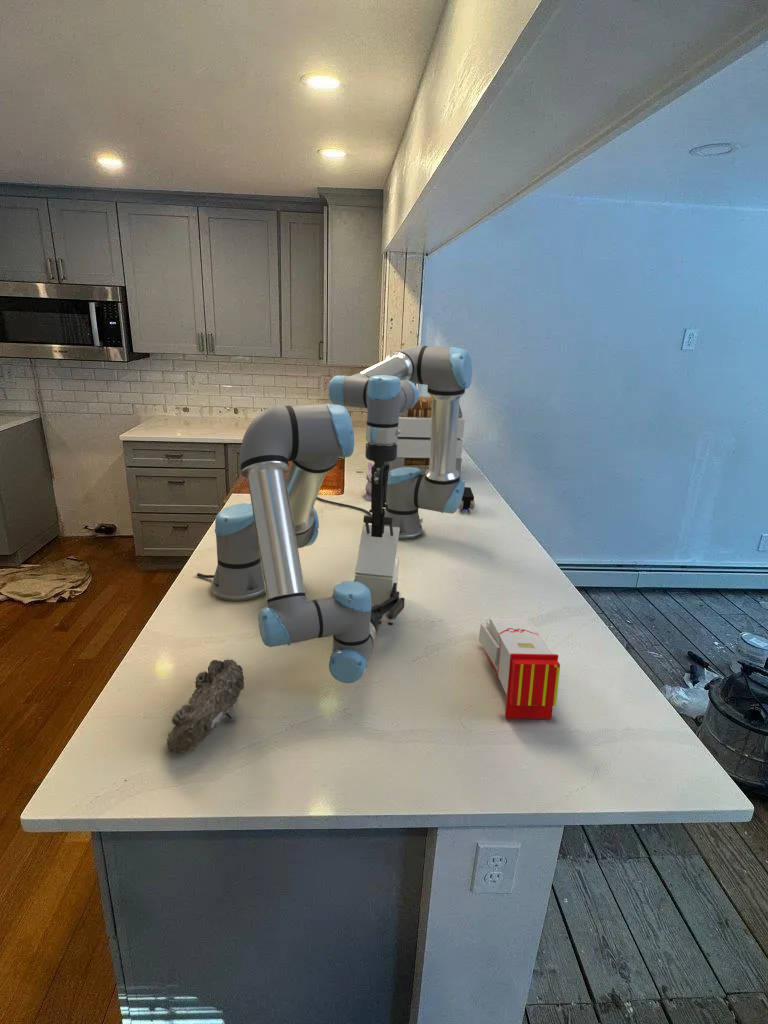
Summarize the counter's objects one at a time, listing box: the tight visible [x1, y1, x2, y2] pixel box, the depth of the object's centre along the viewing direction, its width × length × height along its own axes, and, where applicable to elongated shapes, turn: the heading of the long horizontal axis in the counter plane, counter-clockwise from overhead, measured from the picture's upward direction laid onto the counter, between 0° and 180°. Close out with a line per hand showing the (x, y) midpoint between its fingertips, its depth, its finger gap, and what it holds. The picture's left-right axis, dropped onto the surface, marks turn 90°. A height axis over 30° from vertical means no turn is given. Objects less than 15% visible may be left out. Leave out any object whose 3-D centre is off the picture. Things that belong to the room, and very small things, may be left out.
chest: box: [354, 556, 400, 616], centre depth 150 cm, size 13×10×11 cm
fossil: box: [166, 658, 245, 754], centre depth 106 cm, size 22×10×15 cm
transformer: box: [387, 396, 465, 475], centre depth 268 cm, size 34×33×41 cm
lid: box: [354, 514, 400, 578], centre depth 142 cm, size 14×10×9 cm
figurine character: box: [458, 486, 476, 514], centre depth 227 cm, size 7×8×15 cm
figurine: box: [364, 462, 373, 501], centre depth 234 cm, size 9×10×15 cm
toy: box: [478, 616, 561, 720], centre depth 122 cm, size 12×13×30 cm
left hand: (375, 585), depth 147 cm, fingers closed on chest, 10 cm apart
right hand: (377, 534), depth 143 cm, fingers closed on lid, 2 cm apart
